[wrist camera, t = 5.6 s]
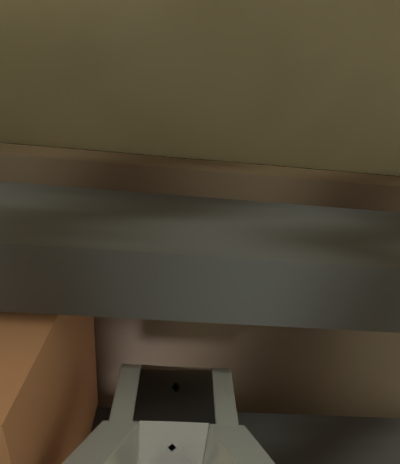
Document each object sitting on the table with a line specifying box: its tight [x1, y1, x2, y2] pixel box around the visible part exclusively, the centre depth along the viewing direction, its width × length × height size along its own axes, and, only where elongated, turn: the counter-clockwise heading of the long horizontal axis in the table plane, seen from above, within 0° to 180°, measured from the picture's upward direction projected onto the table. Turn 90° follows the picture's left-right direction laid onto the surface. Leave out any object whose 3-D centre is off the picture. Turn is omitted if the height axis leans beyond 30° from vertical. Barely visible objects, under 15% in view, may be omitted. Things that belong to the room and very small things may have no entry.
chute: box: [0, 143, 400, 464], centre depth 10 cm, size 22×11×4 cm, turn 85°
